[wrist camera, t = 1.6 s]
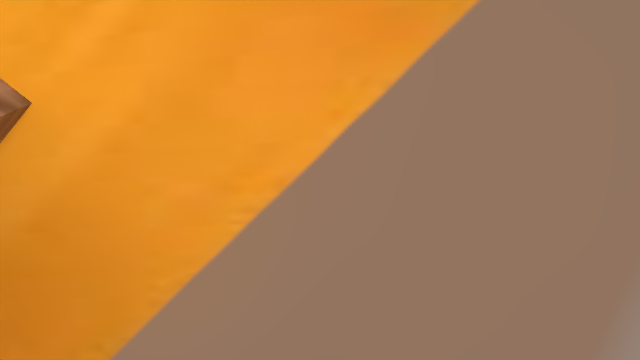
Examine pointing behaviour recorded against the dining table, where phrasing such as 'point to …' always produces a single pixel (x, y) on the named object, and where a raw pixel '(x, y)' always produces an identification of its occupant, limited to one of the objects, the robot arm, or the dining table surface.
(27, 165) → the dining table surface
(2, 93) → the brown long block
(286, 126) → the dining table surface
